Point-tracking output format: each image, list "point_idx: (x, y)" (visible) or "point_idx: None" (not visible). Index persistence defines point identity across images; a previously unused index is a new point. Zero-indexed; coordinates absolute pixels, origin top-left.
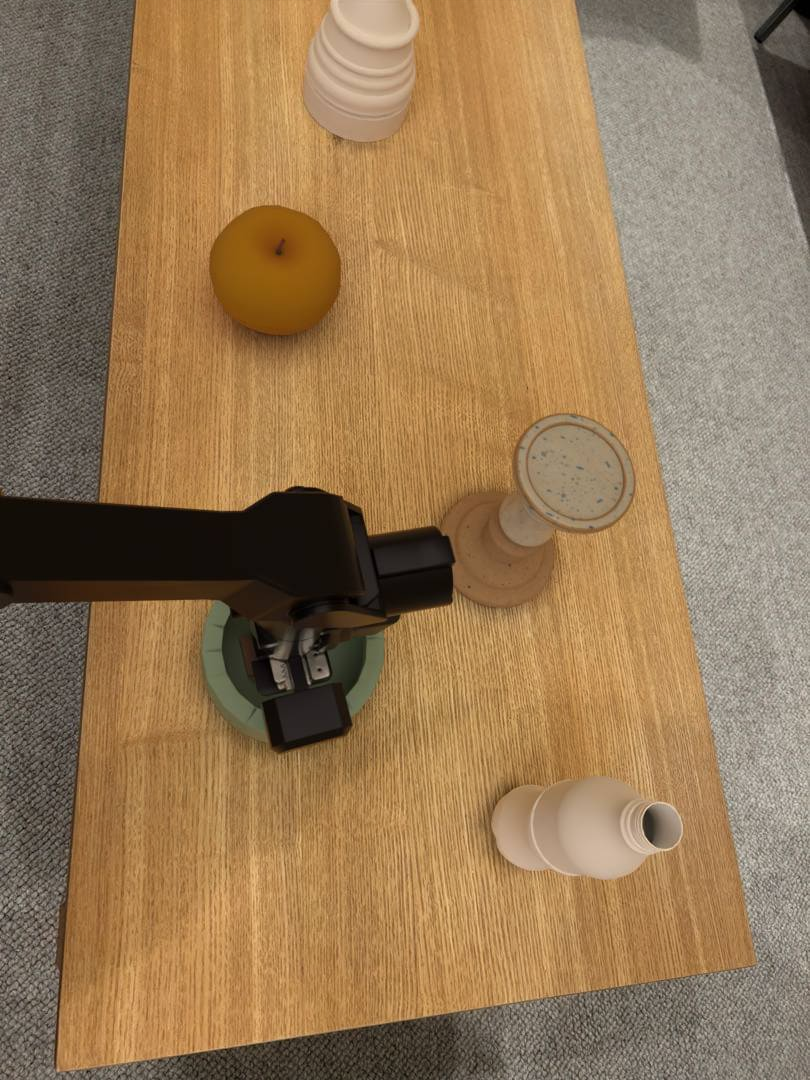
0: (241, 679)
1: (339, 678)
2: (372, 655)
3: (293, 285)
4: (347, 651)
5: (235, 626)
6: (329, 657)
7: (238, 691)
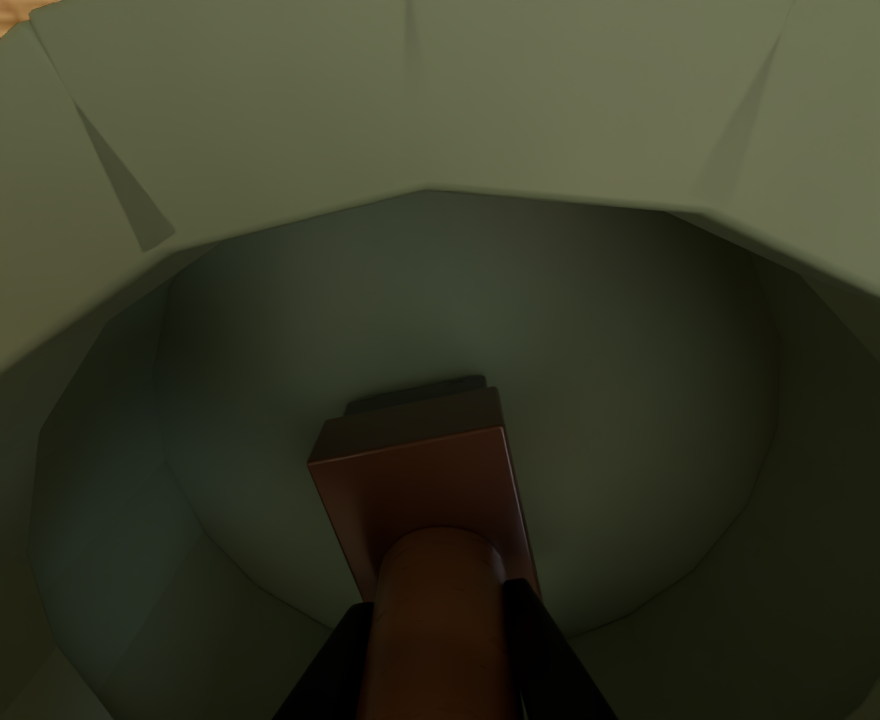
0: None
1: (560, 242)
2: (648, 113)
3: None
4: (431, 198)
5: (347, 592)
6: (458, 284)
7: (568, 588)
